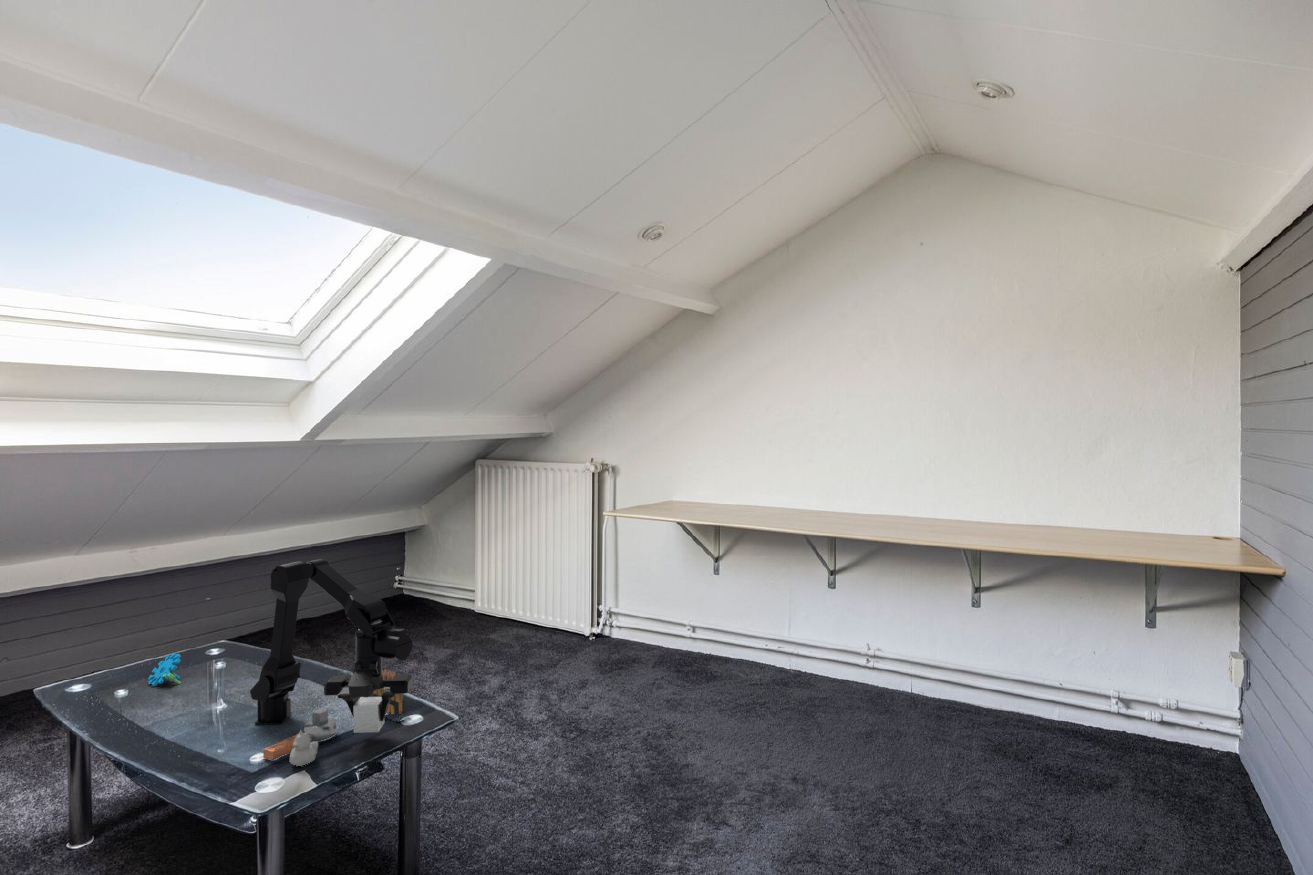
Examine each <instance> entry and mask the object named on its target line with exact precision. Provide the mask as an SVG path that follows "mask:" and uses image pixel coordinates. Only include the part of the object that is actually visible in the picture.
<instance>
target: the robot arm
mask: <svg viewBox="0 0 1313 875" xmlns="http://www.w3.org/2000/svg"><path fill="white" fill-rule="evenodd" d="M309 580H311V581H313V582H314V583H315V584H317V586H319V587H320V588H321V589H322V590H323V591H324V592H325V593H327V594H328V595H329V596H330V597H332V598H333V599H334V600H335V601H336V602H337V603H338V604H340V605H341V607H343V609H344V613H345V616H346V618H347V619H348V620H349V621H350V623H351V624H352V625H353V627H352V628H351V629H350V630H348V632H347V634H348V635H351V636H355V662H354V665H353V672H352V675H351V676H350V677H349V675H332V676H331V677H330V678H329V680H327V681H326V683H324V686H323V695H324V696H337V699H342V700H343V701H344V702H346V703H345V704H347V707H348V708H349V711H350V713H351V716H352V718H353V719H354V713H353V706H354V705H355V703H356V702H357V701H358V700H359V698H360V697H372V694H373V693H374V691H375V690H380V689H381V688H384V690H385V691H384V693H383V694H382V695H381V698H382V705H381V721H383V720H384V717H385V714H386V711H387V709H388V706H389V703H390V700H391V698H392V697H394V696H395V695H396V694H402V695H405V694H408V693H409V691H410V690H411V688H412V687H413V685H414V684H413V682H414V681H413V680H414V677H413V676H412V674H410V673H403V674H401V673H399V674H398V673H396V674H395V676H394V677H393V679H384V680H383V678H382V677H383V674H384V671H383V672H382V669H383V659H389V660H390V659H391V660H396V661H405V660H406V659H408V657H409V656H410V655H411V652H412V648H413V641H412V640H411V639H412V638H411V637H410V635H408V634H407V630H406V629H405V628H396V627H397V624H396V623H395V621H394V618H393V617H392V615H391V614H390V612H389V610H388V609H387V604H386V602H385V601H383V600H382V599H381V598H379V597H377V596H375V595H374V594H372V593H369V592H364V591H361V590H360V589H358V587H356V586H355V585H353V584H352V583H351V582H350V581H349V580H347V579H346V578H345V577H344V576H342V574H340V573H339V572H338V571H336V569H334V568H333V567H332V566H331V565H330V564H329V562H328V561H327V560H326V559H323V558H319V559H314V560H310V561H306V562H304V561H294V562H290V563H289V562H288V563H285V564H280V565H276V566H275V567H274V568H272V570H271V572H270V590H271V592H272V594H273V595H274V597H275V599H276V601H275V609H274V610H275V612H274V620H273V626H272V627H273V628H272V629H273V630H272V636H271V647H270V654H269V657H268V658H267V660H266V661H265V662H264V664H263V665H262V667H261V669H260V670H261V672H260V675H259V678H258V681H257V682H256V683H255V685H254V686H253V687H252V688H251V689H250V690H249V692H250V698H251V700H255V701H257V720H255V721H254V726H255V725H281V724H283V723H284V722H285V721H286V720H287V719H288V718H289V717H290V716H291V715H292V711H291V710H292V707H291V706H292V705H291V704H292V703H291V698H290V697H289V693H290V692H293V691H294V690H295V687H296V686H295V685H296V684H297V682H298V680H299V679H300V678H301V675H300V672H301V671H300V670H301V666H302V664H301V662H299V661H297V660H296V659H295V656H294V654H293V653H294V644H295V638H296V637H295V636H296V630H297V621H298V620H297V618H298V611H299V610H298V609H299V601H300V599H301V598H302V596H303V594H304V593H305V591H306V590H307V588H308V584H309Z"/></svg>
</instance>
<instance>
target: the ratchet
mask: <svg viewBox="0 0 1313 875" xmlns="http://www.w3.org/2000/svg"><path fill="white" fill-rule="evenodd" d="M311 713H312V714H311V715H312V716H311V717H312V718H311V720H310V721H307V722H306V723H305V724H303V725H304V726H303V734H304V733H306V734H307V735H308V736H309V737H310V743H311V742H313V741H314V742H315V741H321V740H324V739H327V738H329V737H331V736H333V735H335V734H336V735H337V719H335V718H331V717H329V710H327V709H324V708H319V709H316V710H314V711H312V712H311ZM298 734H299V733H297V734H295V735H292V736H290V737H288V738H285V739H283V740H281V741H278V742H276V743H275V744H272V745H270V746H268V747H265V748H263V752H262V754H263V757H262V758H266V759H271V760H274V759H276V758H278V757H280V756H282V755H285V754H288V753H290V752H291V751H292V749H293V748H294V745H293V743H294V740H295V738H296V737H297V735H298Z"/></svg>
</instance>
